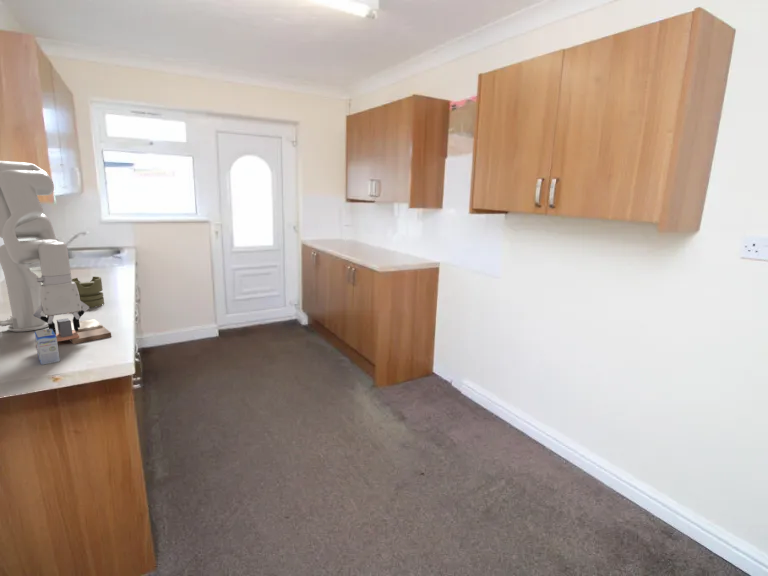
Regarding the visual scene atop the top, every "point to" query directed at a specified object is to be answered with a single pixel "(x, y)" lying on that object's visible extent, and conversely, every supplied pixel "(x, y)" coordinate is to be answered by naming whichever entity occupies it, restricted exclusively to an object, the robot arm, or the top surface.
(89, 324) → the board
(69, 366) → the top surface
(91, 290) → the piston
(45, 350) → the medicine box
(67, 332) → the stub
